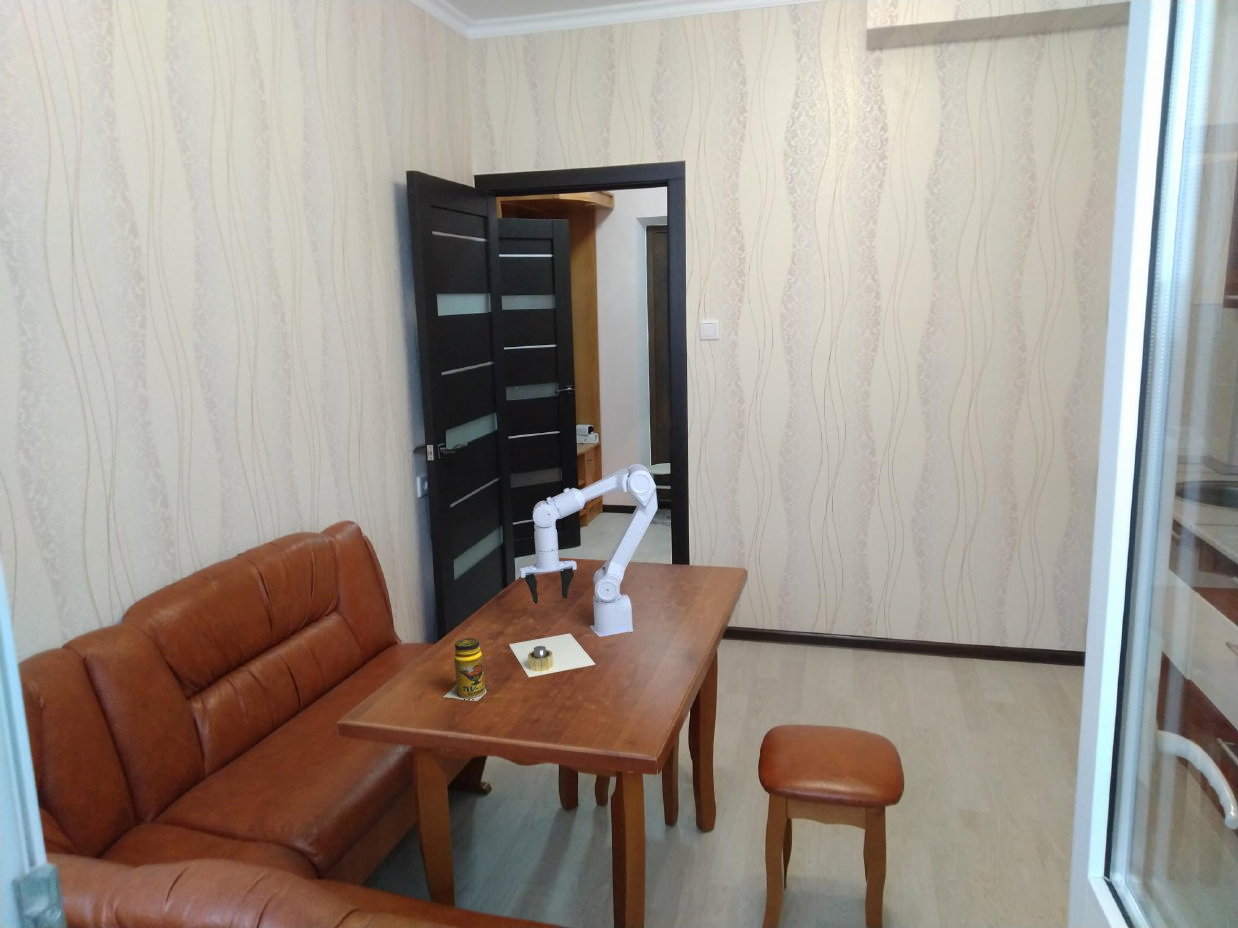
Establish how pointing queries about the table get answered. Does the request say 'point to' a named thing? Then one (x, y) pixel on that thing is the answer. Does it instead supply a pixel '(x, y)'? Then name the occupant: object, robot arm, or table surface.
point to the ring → (540, 661)
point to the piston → (540, 652)
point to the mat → (563, 650)
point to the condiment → (468, 671)
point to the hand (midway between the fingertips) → (550, 599)
